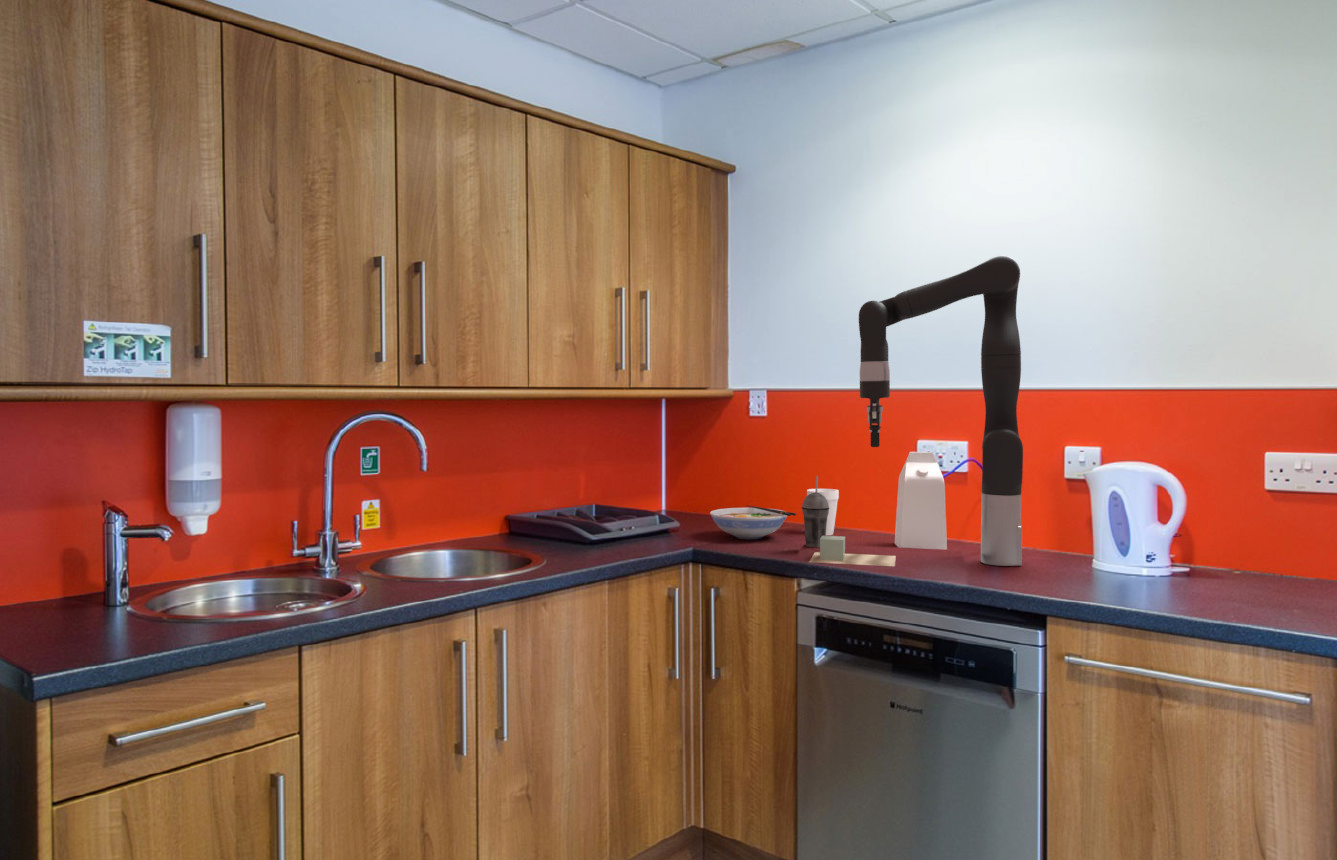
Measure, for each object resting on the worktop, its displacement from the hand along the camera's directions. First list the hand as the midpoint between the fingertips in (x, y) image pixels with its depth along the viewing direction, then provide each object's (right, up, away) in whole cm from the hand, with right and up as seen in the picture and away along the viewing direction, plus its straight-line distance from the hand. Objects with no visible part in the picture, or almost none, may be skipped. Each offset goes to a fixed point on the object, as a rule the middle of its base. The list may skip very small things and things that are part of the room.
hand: (875, 446), depth 234 cm
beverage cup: (-14, -28, +7) cm, 32 cm away
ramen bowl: (-30, -27, +30) cm, 50 cm away
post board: (-8, -29, -12) cm, 32 cm away
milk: (+15, -28, +14) cm, 35 cm away
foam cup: (-7, -27, +38) cm, 47 cm away
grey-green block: (-13, -27, -11) cm, 32 cm away
